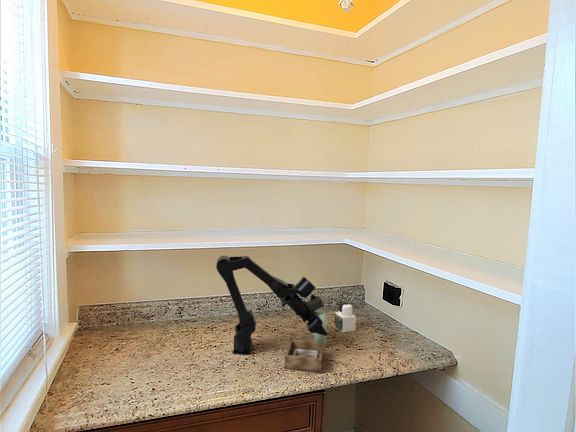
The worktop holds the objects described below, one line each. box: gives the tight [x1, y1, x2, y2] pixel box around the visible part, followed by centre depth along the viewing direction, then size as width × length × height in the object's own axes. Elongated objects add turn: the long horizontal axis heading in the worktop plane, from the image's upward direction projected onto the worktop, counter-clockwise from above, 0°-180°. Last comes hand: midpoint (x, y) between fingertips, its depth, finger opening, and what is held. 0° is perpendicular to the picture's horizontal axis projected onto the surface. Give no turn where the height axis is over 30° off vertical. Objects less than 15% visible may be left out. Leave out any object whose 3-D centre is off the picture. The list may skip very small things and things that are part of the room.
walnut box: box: [284, 339, 325, 374], centre depth 131 cm, size 13×13×5 cm
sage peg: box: [313, 310, 328, 349], centre depth 144 cm, size 5×5×14 cm
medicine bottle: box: [334, 302, 357, 333], centre depth 161 cm, size 7×7×12 cm
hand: (323, 330), depth 145 cm, fingers open, 9 cm apart
